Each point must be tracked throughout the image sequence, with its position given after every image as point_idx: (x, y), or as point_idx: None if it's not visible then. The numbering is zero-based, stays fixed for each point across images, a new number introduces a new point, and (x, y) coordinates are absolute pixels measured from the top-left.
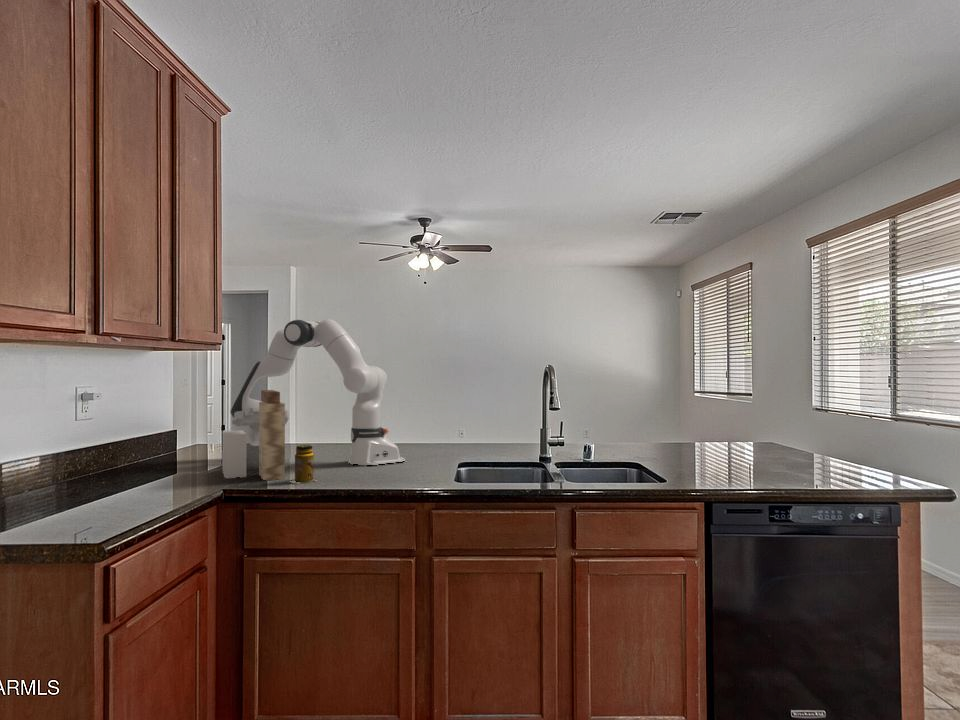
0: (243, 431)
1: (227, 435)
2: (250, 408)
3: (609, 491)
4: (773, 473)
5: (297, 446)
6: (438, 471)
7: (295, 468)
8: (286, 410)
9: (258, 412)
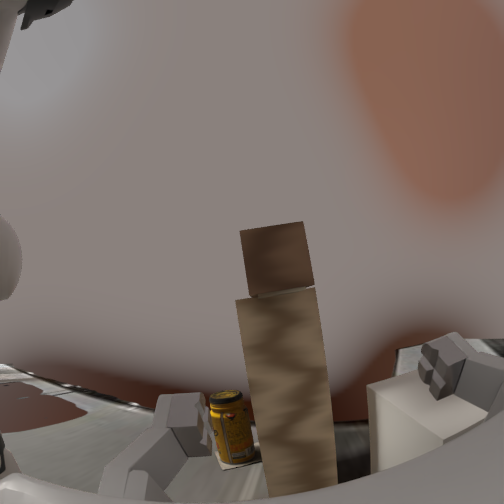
0: (412, 415)
1: (417, 370)
2: (438, 339)
3: (61, 383)
4: None
5: (240, 392)
6: (34, 435)
7: (251, 431)
8: (10, 474)
9: (426, 476)
